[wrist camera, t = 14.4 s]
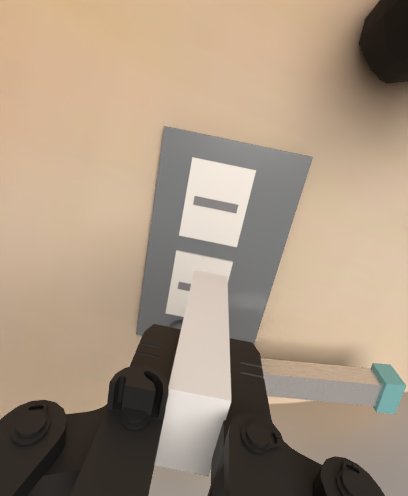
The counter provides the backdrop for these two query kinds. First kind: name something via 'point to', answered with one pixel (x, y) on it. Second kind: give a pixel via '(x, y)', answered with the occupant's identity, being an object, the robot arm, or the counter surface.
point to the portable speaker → (387, 40)
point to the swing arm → (335, 383)
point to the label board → (218, 225)
